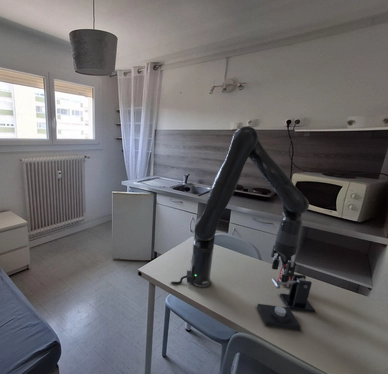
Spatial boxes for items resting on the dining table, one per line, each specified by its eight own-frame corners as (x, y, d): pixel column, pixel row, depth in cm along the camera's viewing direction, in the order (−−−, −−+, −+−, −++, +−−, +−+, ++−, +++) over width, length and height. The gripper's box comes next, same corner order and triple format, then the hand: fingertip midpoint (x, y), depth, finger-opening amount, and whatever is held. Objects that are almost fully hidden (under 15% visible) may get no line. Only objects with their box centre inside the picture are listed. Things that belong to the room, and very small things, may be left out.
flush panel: (265, 326, 84) (267, 317, 83) (256, 307, 93) (258, 299, 92) (299, 330, 83) (301, 322, 82) (287, 311, 91) (289, 303, 90)
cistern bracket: (288, 309, 93) (294, 283, 89) (279, 295, 100) (284, 271, 97) (314, 312, 91) (321, 286, 88) (303, 298, 99) (309, 273, 96)
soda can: (292, 288, 105) (297, 266, 102) (280, 286, 106) (285, 264, 103) (287, 281, 110) (292, 260, 107) (276, 279, 111) (280, 258, 108)
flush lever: (276, 289, 93) (276, 284, 92) (271, 282, 98) (271, 277, 97) (308, 288, 91) (308, 283, 90) (301, 280, 95) (301, 275, 95)
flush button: (276, 316, 84) (277, 312, 84) (272, 309, 88) (273, 305, 87) (287, 317, 84) (288, 313, 84) (282, 310, 87) (283, 306, 87)
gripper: (269, 232, 97) (263, 264, 101) (285, 248, 83) (277, 285, 87) (288, 233, 96) (280, 266, 100) (307, 251, 82) (297, 287, 86)
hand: (279, 275), depth 94 cm, fingers open, 8 cm apart
